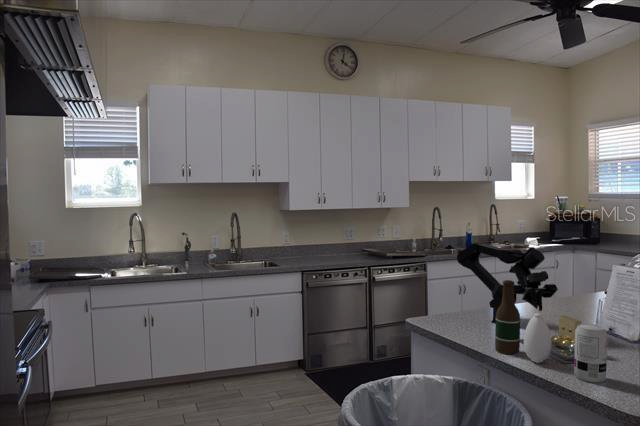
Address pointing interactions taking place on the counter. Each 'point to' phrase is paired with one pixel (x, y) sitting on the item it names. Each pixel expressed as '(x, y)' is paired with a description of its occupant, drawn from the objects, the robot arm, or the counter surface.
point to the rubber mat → (553, 347)
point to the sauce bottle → (537, 338)
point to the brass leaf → (565, 331)
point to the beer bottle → (507, 322)
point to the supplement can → (590, 353)
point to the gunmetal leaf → (565, 352)
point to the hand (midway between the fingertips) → (541, 310)
